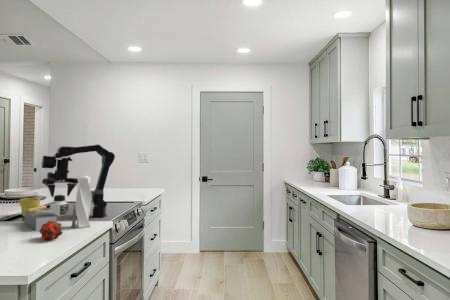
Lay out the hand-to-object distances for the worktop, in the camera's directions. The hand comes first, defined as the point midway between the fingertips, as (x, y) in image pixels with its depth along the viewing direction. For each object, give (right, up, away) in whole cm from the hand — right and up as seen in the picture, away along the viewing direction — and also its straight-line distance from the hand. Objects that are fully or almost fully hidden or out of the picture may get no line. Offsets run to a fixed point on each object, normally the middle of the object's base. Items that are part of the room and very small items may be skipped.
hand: (60, 196), depth 184 cm
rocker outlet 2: (+2, -6, -19) cm, 20 cm away
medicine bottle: (-8, -14, +14) cm, 21 cm away
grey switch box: (-3, -13, -15) cm, 20 cm away
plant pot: (-23, -13, +9) cm, 28 cm away
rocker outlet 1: (-7, -6, -10) cm, 13 cm away
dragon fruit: (+16, -14, -39) cm, 44 cm away
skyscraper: (+19, -14, -14) cm, 27 cm away
